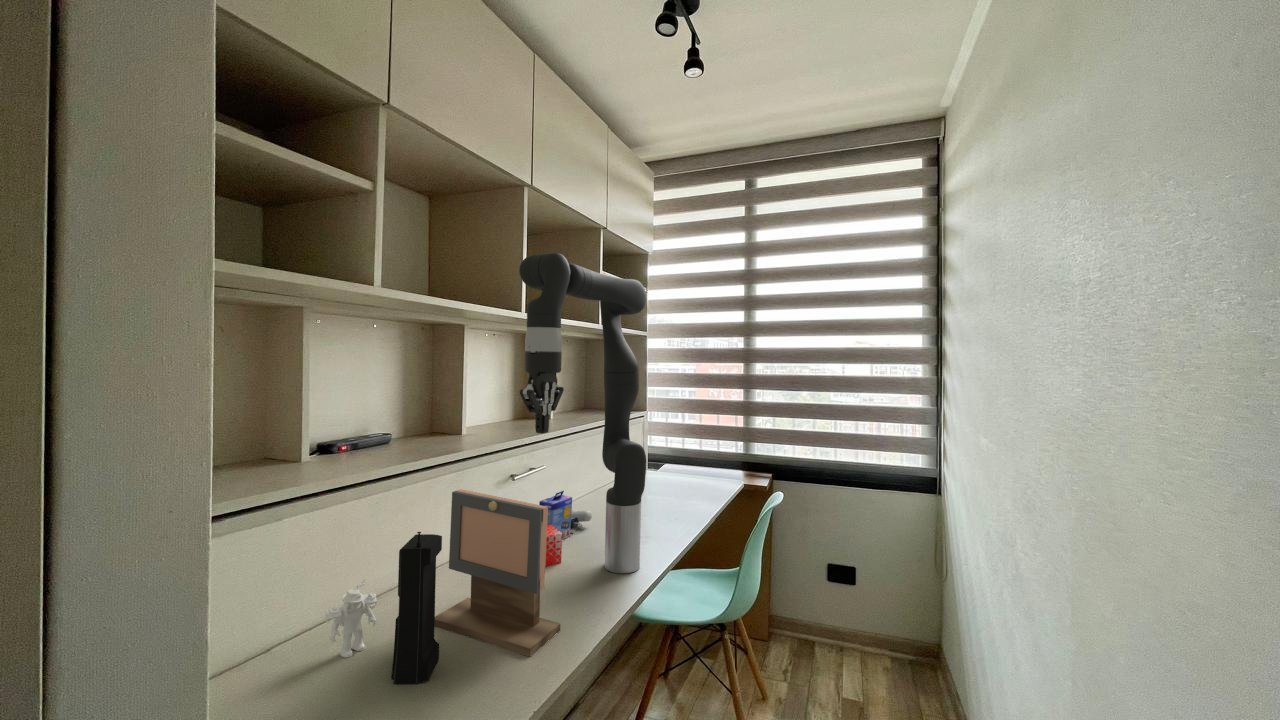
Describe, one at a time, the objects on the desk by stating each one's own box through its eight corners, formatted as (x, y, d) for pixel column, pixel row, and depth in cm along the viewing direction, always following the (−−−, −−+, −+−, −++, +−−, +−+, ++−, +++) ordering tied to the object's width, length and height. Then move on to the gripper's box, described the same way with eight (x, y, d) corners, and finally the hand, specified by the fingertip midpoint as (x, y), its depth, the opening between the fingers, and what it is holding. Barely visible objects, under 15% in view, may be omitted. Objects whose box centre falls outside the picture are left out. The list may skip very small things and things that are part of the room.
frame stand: (467, 604, 112) (470, 497, 112) (560, 630, 103) (563, 513, 103) (431, 625, 103) (434, 509, 103) (529, 656, 93) (533, 528, 93)
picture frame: (457, 564, 109) (460, 489, 108) (544, 588, 100) (548, 506, 99) (446, 569, 106) (450, 492, 106) (534, 595, 97) (538, 510, 97)
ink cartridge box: (551, 546, 148) (552, 496, 148) (536, 542, 151) (537, 493, 151) (572, 536, 157) (573, 488, 157) (557, 532, 160) (558, 486, 160)
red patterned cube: (523, 557, 139) (524, 528, 139) (551, 553, 143) (551, 524, 143) (532, 568, 133) (533, 538, 132) (561, 563, 136) (562, 533, 136)
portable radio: (406, 657, 92) (410, 518, 92) (441, 656, 93) (444, 518, 93) (389, 685, 85) (392, 533, 84) (426, 684, 85) (430, 533, 85)
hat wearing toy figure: (370, 636, 99) (371, 574, 99) (381, 643, 97) (383, 579, 97) (320, 659, 91) (321, 591, 91) (331, 666, 89) (333, 597, 89)
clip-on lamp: (533, 534, 166) (573, 534, 156) (529, 515, 167) (568, 513, 156) (558, 522, 176) (597, 521, 166) (554, 503, 176) (593, 501, 166)
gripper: (546, 350, 115) (545, 427, 115) (508, 349, 102) (507, 435, 103) (575, 350, 111) (574, 430, 112) (539, 349, 99) (538, 438, 99)
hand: (541, 432), depth 107 cm, fingers closed
